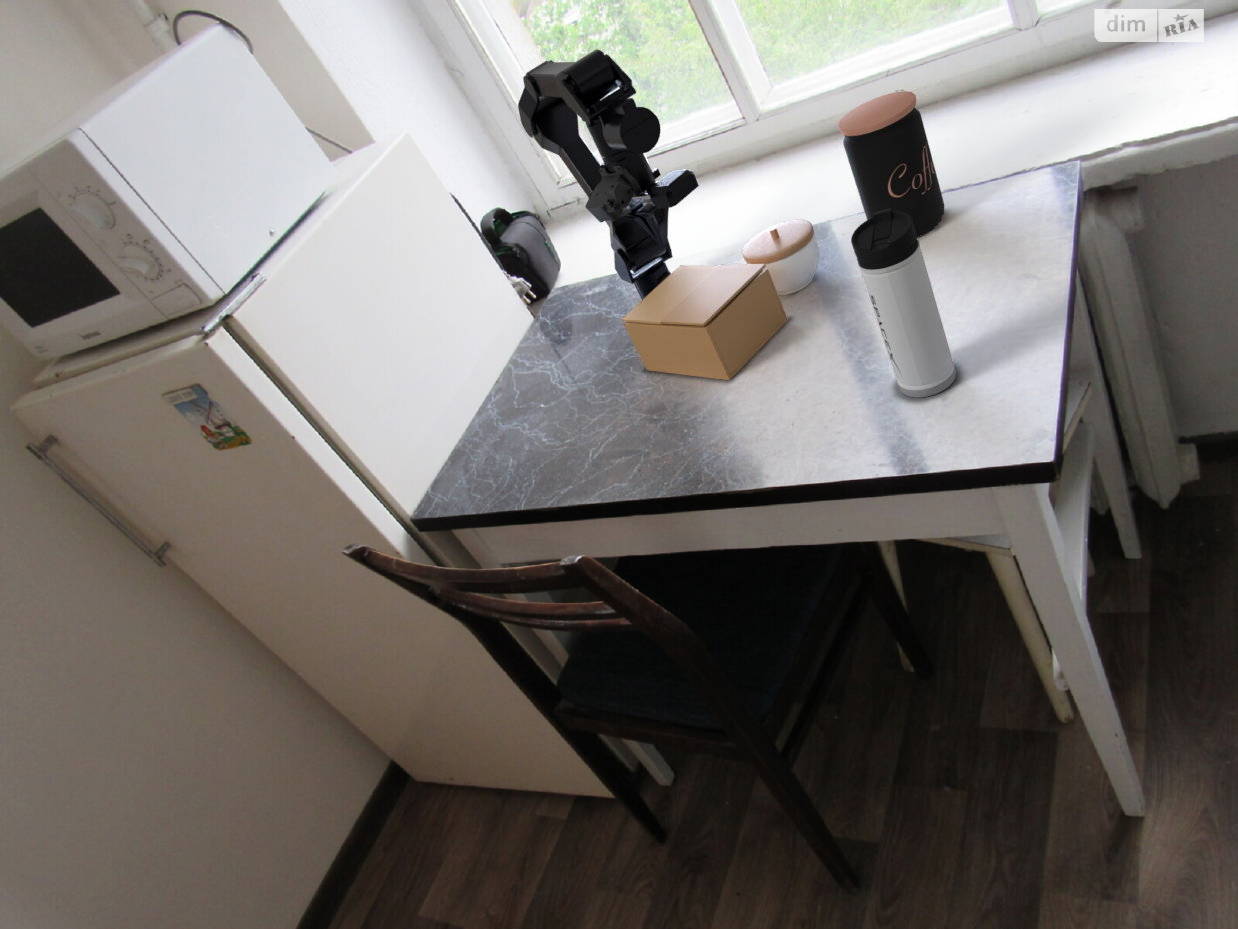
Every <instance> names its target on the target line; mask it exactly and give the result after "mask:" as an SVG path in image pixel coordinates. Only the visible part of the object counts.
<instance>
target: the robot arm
mask: <svg viewBox="0 0 1238 929" xmlns="http://www.w3.org/2000/svg"><path fill="white" fill-rule="evenodd" d="M522 80H523V81H522V82H523V86H524V87H523V90H522V93H521V95H520V98H519V100H518V103H517V108H518V115H519V118H520V122H521V123H520V124H521V125H522V127H523V130H524V131H525V133H526V134H527V136H529V137H530V138H531V139H534V140H535V141H536V143H537V144H538V146H539V147H540V148H541V149H543V150H545V151H547V152H549V153H552V154H555V155H557V156H558V157H559V158H560V159H561V161H562V162H563V164H564V165H565V166H566V168H567V169H568V171H569V172H570V173H571V175H572V176H573V178H574V179H575V180H576V182H577V183H578V185H579V186H580V187H581V189H582V191H583V192H584V193H585V195H586V196H587V201H586V203H585V209H586V210H587V211H588V212H589V213H590V214H591V215H592V216H593V217H594V218H595V219H596V220H597V221H598V222H599V223H604V222H605V223H606V225H607V226H608V228H609V239H610V240H609V241H610V247H611V249H612V250H613V256H614V258H613V260H614V262H613V263H614V270H615V271H616V273H617V275H618V276H619V278H620V280H622V281H624V282H627V283H629V284H631V285H634V287H635V289H636V291H637V293H638V295H639V297H640V299H641V301H642V300H643V299H644V298H645V297H646V296H647V295H648V294H650V293H651V292H652V291H653V290H654V289H655V288H656V287H657V286H658V285H659V284H661V283H662V282H663V281H664V280H665V279H666V278H667V277H668V276H669V275H670V274H672V272H671V271H670V270H669V268H668V266H667V264H666V262H667V261H668V260H669V259H670V260H671V259H672V258H673V251H672V248H671V244H670V242H669V212H670V211H669V209H670V208H673V207H675V206H677V205H679V203H681V202H682V201H683V200H684V199H685V198H687V197H688V196H689V195H690V194H691V193H692V192H694V190H697V188H698V187H700V183H699V180H698V179H697V177H696V174H695V171H692V170H690V169H680V170H679V169H678V170H672V171H670V172H668V173H667V174H666V175H665V176H664V177H662V178H661V179H659V180H657V181H656V179H658V178H659V177H660V176H661V175H662V174H661V172H660V170H659V168H654V169H653V168H652V167H651V165H650V163H649V160H648V159H647V155H646V153H649V152H650V151H652V150H653V149H654V148H655V147H656V146H657V144H658V143H659V140H660V136H661V131H662V130H661V123H660V119H659V117H658V116H657V115H656V113H654V111H652V110H651V109H650V108H648V107H645V106H637V104H636V101H635V99H634V98H633V96H635V95H636V94H637V90H636V89H635V87H634V86H633V79H631V77H630V76H629V75H628V74H627V73H626V72H625V71H624V70H623V69H622V68H621V67H620V65H619V64H618V63H617V62H616V61H615V60H614V59H613V58H612V57H611V56H610V55H609V54H607V53H605V52H604V51H602V50H601V49H597V48H595V49H594V50H592V51H591V52H589V53H588V54H586V55H584V56H582V57H581V58H579V59H578V60H576V61H554V60H552V59H550V60H545V61H543V62H542V63H540V64H538V65H536V66H535V67H533V68H531V69H530V70H528V71H527V72H526V73H525V75H523V77H522ZM579 118H580V119H581V121H582V122H583V123H585V125H586V128H587V131H588V132H589V134H590V136H591V138H592V141H593V143H594V145H595V147H596V149H597V151H598V153H599V156H600V157H601V160H602V161H603V162H602V163H600V161H599V160H598V159H597V157H596V156H595V154H594V153H593V152H592V150H591V149H590V147H589V146H588V144H587V143H586V141H585V140H584V139H583V137H582V136H581V134H580V129H579V128H580V127H579Z"/></svg>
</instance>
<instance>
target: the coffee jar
mask: <svg viewBox="0 0 1238 929" xmlns="http://www.w3.org/2000/svg"><path fill="white" fill-rule="evenodd" d="M916 106H917V95H916V94H915V93H914V92H912V91H907V90H904V91H894V92H891V93H887V94H884V95H880V96H878V97H875V98H872V99H870V100H868V101H866V102H863V103H861V104H860V105H858V106H856V107H854V108H853V109H851V110H850V111H849V112H847V113H846V114H845V115H844V116H842V118H841V119H840V120H839V121H838V125H837V128H838V130H839V132H840V134H841V135H842V136H844V137H843V142H842V144H843V149H844V152H845V154H846V157H847V160H848V161H847V162H848V164H849V166H850V167H849V168H850V170H851V173H852V176H853V179H854V183H855V186H856V189H857V192H858V196H859V198H860V202H861V205H862V208H863V211H864V215H865V217H866V220H868V219H870V218H872V217H874V216H873V215H874V213H875V212H879V211H882V210H886V209H889V208H891V211H892V212H893V211H900V212H904V213H907V214H908V215H909V216H910V217H911V219H912V222H913V225H914V229H915V232H916V237H917V238H920V237H922V236H924V235H926V234H927V233H929V232H931V231H933V230H934V229H935V228H936V227H938V226H939V224H940V223H941V221H942V219H943V216H944V213H945V206H946V205H945V202H944V198H943V194H942V191H941V186H940V182H939V179H938V175H937V171H936V168H935V163H934V160H933V156H932V152H931V149H930V145H929V140H928V137H927V133H926V129H925V125H924V121H923V118H922V113H921V111H920V110H918V109H917V108H916Z"/></svg>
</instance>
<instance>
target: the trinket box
mask: <svg viewBox="0 0 1238 929" xmlns="http://www.w3.org/2000/svg"><path fill="white" fill-rule="evenodd" d="M741 254H742V257H743V259H744V261H745V263H746V264H765V265H766V267H765V268H764V269H768V270H769V273H770V275H771V278H772V280H773V283H774V285H775V288H776V291H777V293H778V296H786V295H791V294H794V293H797V292H799V291H801V290H803V289H805V288H806V287H808V286H809V285H810V284H811V283H812V282H813V280H814V275H815V274H816V271H817V270H818V266H819V263H820V249H819V244H818V240H817V237H816V234H815V229H814V225H813V224H812V222H810V221H809V220H807V219H804V218H803V219H801V218H796V219H795V218H794V219H790V220H784V221H782V222H779V223H776V224H773V225H771V226H769V227H767V228H764V229H763V230H761V231H760V232H758V233H757V234H755V235H754V236H752V237H751V238H750V239H749V240H748V241H747V242H746V243H745V245H744V246H743V248H742V253H741Z"/></svg>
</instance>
